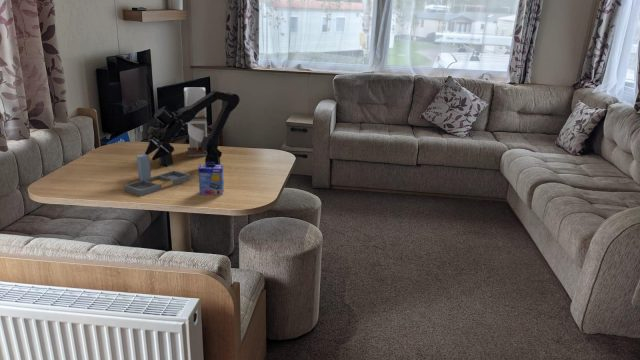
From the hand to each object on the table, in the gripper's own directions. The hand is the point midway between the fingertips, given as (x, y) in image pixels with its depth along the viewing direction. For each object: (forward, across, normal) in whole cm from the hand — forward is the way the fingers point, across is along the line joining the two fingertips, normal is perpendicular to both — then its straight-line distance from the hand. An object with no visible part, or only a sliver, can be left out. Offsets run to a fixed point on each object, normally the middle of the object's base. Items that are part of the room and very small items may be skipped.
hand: (148, 157), depth 225 cm
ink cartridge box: (-4, +33, +18) cm, 38 cm away
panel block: (+9, 0, +5) cm, 10 cm away
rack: (+7, +12, +7) cm, 15 cm away
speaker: (-3, -17, +17) cm, 24 cm away
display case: (-18, -27, +32) cm, 46 cm away
